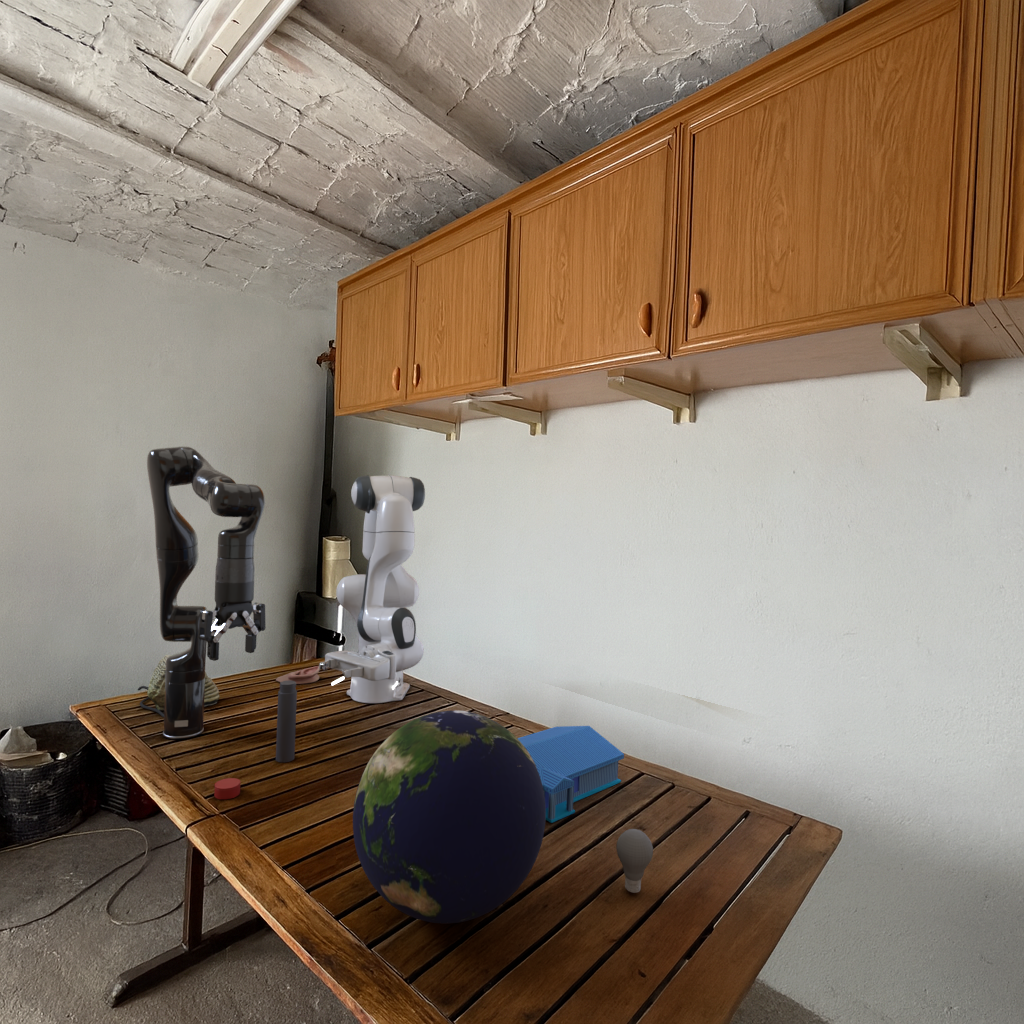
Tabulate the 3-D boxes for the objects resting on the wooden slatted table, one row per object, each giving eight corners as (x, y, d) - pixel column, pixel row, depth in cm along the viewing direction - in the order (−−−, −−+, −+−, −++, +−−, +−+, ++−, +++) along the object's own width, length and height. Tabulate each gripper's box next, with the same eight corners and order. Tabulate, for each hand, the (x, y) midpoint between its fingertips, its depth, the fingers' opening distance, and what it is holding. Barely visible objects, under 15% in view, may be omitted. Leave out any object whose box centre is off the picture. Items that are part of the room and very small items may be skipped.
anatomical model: (271, 670, 211) (289, 662, 222) (270, 682, 211) (289, 673, 222) (307, 674, 208) (324, 665, 220) (306, 686, 208) (324, 677, 220)
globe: (306, 934, 92) (314, 729, 91) (413, 836, 119) (420, 678, 119) (495, 1005, 80) (505, 771, 80) (565, 878, 108) (573, 704, 108)
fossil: (144, 707, 182) (145, 655, 182) (212, 696, 194) (213, 647, 194) (151, 716, 175) (153, 662, 175) (221, 703, 188) (223, 653, 188)
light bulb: (610, 879, 108) (613, 822, 108) (644, 879, 109) (647, 822, 109) (619, 902, 102) (622, 840, 102) (655, 901, 103) (658, 840, 103)
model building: (505, 843, 118) (507, 790, 118) (429, 794, 136) (431, 748, 136) (632, 786, 145) (634, 743, 144) (555, 752, 163) (557, 713, 163)
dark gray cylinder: (297, 756, 154) (300, 680, 153) (289, 763, 150) (292, 685, 149) (281, 754, 154) (283, 679, 154) (272, 761, 150) (275, 684, 150)
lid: (209, 797, 131) (209, 786, 131) (223, 787, 136) (224, 776, 136) (230, 800, 130) (231, 789, 130) (244, 790, 135) (245, 779, 135)
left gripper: (215, 584, 124) (212, 666, 125) (275, 577, 137) (272, 652, 137) (192, 580, 128) (189, 659, 128) (252, 574, 140) (249, 647, 141)
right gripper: (350, 642, 179) (308, 650, 168) (400, 655, 167) (358, 665, 155) (349, 665, 179) (307, 674, 168) (399, 679, 167) (357, 691, 156)
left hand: (232, 656), depth 133 cm, fingers open, 8 cm apart
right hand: (332, 670), depth 162 cm, fingers open, 8 cm apart
